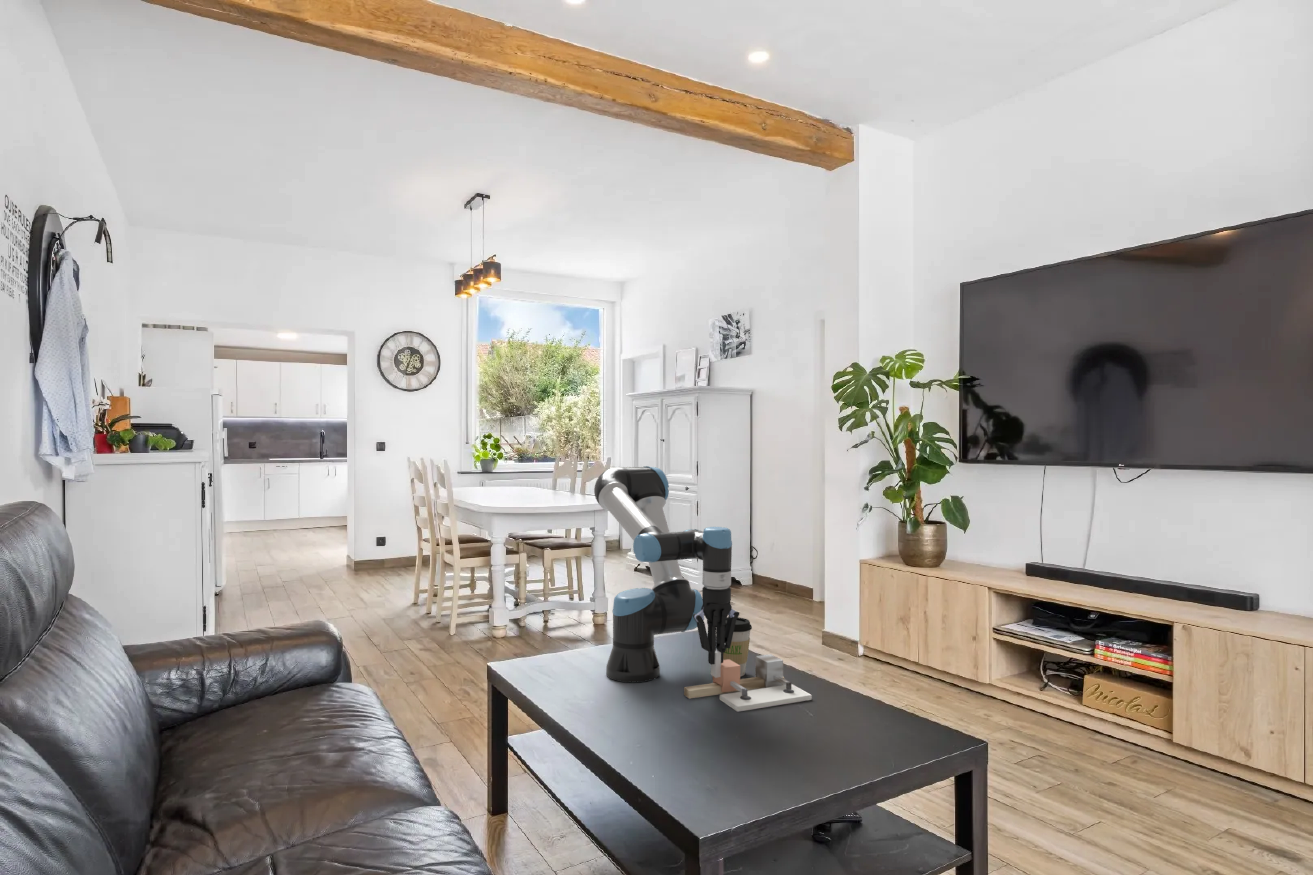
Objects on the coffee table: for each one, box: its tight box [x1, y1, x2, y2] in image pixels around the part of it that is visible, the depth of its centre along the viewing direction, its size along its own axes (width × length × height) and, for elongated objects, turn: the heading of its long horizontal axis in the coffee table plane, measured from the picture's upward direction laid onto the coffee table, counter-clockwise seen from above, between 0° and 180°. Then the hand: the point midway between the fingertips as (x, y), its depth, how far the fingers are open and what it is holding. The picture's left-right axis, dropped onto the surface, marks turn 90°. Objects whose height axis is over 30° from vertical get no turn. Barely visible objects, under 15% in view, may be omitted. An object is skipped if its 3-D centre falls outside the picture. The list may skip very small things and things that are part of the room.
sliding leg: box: [712, 659, 748, 696], centre depth 195 cm, size 13×5×6 cm, turn 24°
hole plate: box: [719, 684, 813, 712], centre depth 192 cm, size 9×22×1 cm, turn 114°
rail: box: [683, 653, 792, 700], centre depth 196 cm, size 13×29×7 cm, turn 114°
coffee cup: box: [723, 616, 753, 677], centre depth 213 cm, size 10×10×15 cm
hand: (715, 675), depth 197 cm, fingers closed
